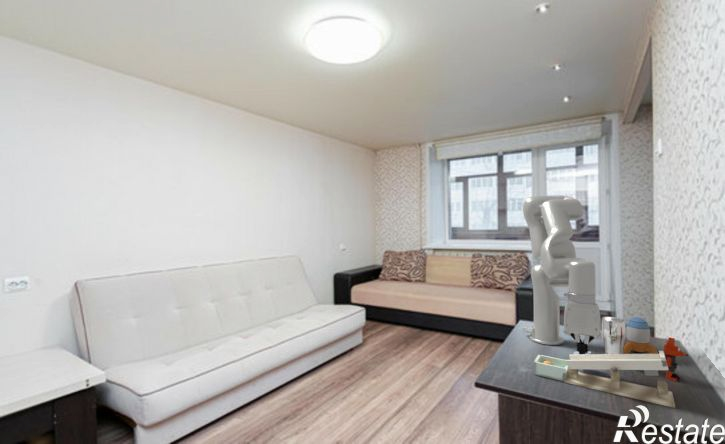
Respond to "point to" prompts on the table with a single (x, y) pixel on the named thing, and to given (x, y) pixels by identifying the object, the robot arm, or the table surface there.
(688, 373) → the table surface
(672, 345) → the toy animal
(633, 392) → the stand
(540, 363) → the tray
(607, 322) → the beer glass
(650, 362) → the lever
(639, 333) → the toy rocket
